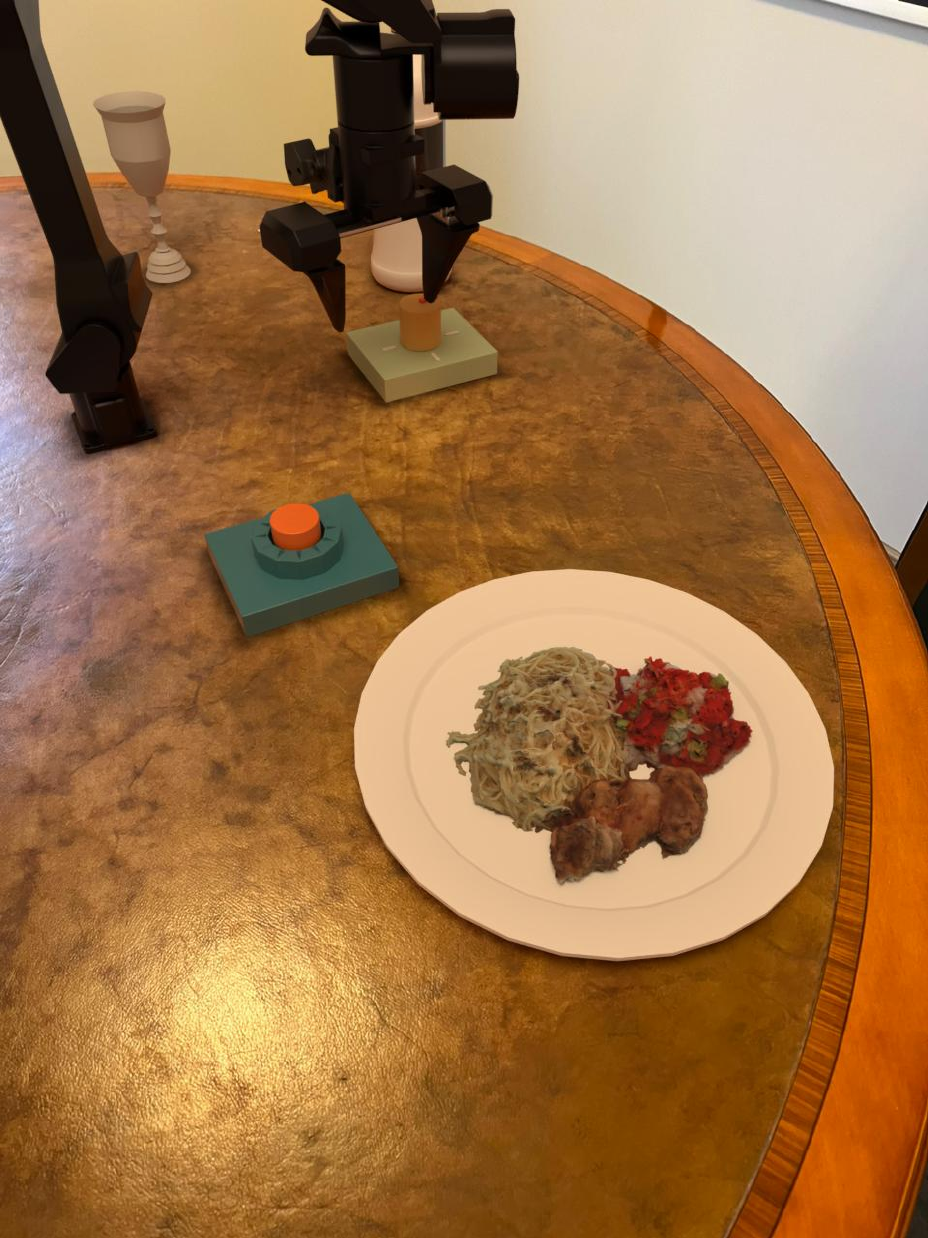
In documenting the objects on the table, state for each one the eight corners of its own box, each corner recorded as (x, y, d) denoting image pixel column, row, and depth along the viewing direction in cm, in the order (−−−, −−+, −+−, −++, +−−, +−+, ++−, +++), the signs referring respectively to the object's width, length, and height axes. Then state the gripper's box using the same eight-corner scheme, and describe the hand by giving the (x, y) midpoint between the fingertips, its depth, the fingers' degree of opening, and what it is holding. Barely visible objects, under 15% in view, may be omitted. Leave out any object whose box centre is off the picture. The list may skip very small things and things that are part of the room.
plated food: (260, 746, 60) (252, 713, 58) (561, 534, 75) (565, 501, 73) (629, 1098, 45) (638, 1074, 43) (912, 747, 60) (931, 714, 58)
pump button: (266, 528, 70) (263, 510, 69) (311, 515, 71) (309, 497, 70) (281, 557, 68) (278, 539, 66) (328, 543, 69) (326, 525, 68)
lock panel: (347, 354, 95) (345, 330, 93) (453, 329, 99) (453, 305, 97) (385, 403, 88) (384, 378, 87) (497, 374, 92) (498, 349, 90)
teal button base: (209, 555, 73) (199, 515, 70) (351, 513, 77) (347, 473, 74) (246, 638, 67) (237, 598, 64) (399, 588, 71) (397, 548, 68)
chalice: (124, 281, 106) (79, 108, 93) (155, 256, 110) (115, 87, 97) (182, 290, 104) (144, 116, 91) (210, 264, 109) (178, 95, 96)
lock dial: (415, 355, 90) (414, 314, 87) (392, 338, 92) (390, 297, 89) (449, 343, 91) (448, 302, 88) (425, 327, 94) (425, 286, 91)
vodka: (435, 301, 103) (429, -23, 81) (358, 287, 105) (334, -32, 84) (463, 266, 109) (465, -44, 88) (391, 253, 111) (375, -51, 90)
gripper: (419, 71, 77) (422, 254, 89) (212, 111, 70) (244, 307, 81) (500, 108, 71) (492, 300, 82) (283, 156, 63) (307, 362, 74)
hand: (385, 315), depth 80 cm, fingers open, 9 cm apart
